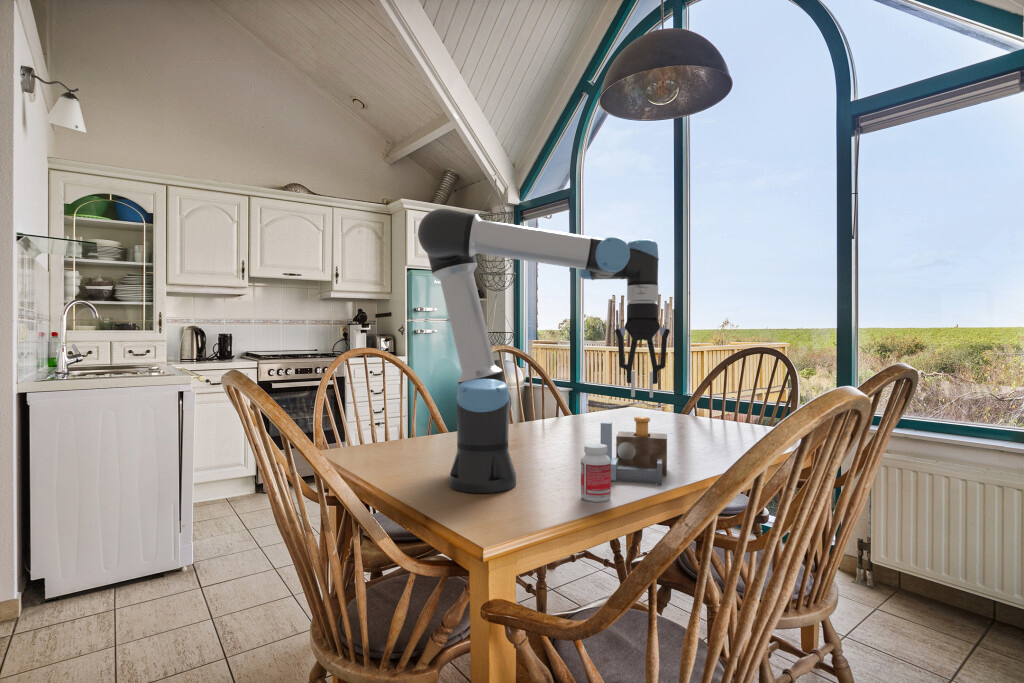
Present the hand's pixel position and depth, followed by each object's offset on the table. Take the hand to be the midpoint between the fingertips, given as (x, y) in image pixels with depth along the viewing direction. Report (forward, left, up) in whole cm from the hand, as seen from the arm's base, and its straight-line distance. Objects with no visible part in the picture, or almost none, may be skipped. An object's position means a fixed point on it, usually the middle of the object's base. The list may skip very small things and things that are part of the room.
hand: (642, 396), depth 135 cm
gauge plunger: (0, 0, -12) cm, 12 cm away
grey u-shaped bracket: (-4, -10, -19) cm, 21 cm away
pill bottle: (-8, -26, -19) cm, 33 cm away
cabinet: (0, 0, -19) cm, 19 cm away
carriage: (-8, -10, -19) cm, 22 cm away
